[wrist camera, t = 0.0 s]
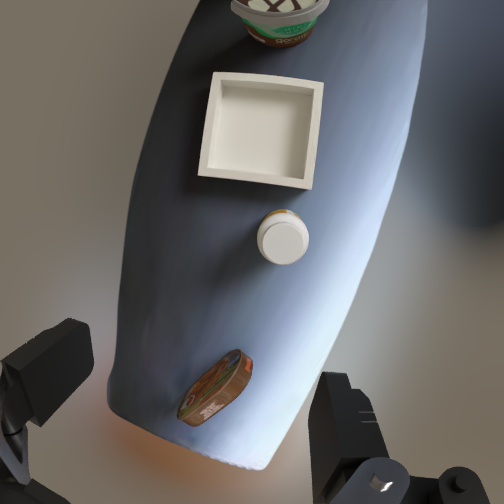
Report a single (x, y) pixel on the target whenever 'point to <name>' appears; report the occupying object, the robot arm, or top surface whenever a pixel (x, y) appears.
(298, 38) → the ice cream tub
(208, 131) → the tray
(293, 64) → the top surface
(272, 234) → the supplement bottle
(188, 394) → the tin
